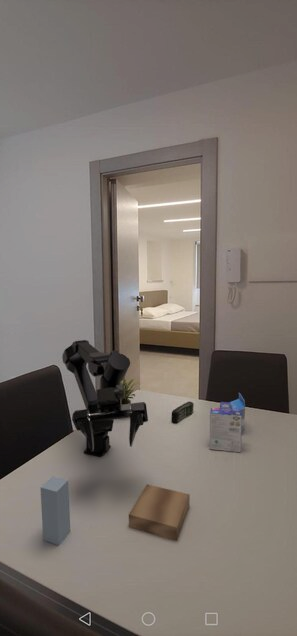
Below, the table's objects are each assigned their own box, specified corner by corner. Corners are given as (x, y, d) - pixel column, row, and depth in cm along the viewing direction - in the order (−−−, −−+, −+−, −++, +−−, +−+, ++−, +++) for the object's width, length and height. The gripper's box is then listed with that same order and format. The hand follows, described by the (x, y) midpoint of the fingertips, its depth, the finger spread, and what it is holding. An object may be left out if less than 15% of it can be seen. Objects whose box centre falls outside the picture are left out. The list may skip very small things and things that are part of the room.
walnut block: (128, 528, 71) (128, 514, 70) (146, 497, 81) (146, 484, 81) (176, 542, 67) (177, 527, 67) (189, 507, 77) (189, 494, 77)
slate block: (43, 540, 67) (40, 487, 66) (55, 526, 71) (52, 476, 70) (59, 545, 66) (56, 491, 65) (70, 531, 70) (68, 480, 68)
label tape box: (227, 423, 121) (228, 391, 119) (238, 423, 120) (239, 391, 119) (233, 434, 112) (233, 401, 110) (244, 434, 112) (245, 401, 110)
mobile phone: (176, 413, 119) (196, 399, 131) (169, 411, 121) (190, 398, 133) (176, 425, 120) (196, 411, 132) (170, 423, 122) (190, 409, 133)
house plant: (148, 411, 131) (148, 373, 129) (136, 426, 118) (135, 384, 116) (116, 407, 136) (116, 370, 134) (101, 421, 123) (100, 380, 121)
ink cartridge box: (240, 444, 106) (241, 401, 104) (241, 453, 100) (243, 408, 98) (209, 441, 107) (210, 399, 106) (209, 449, 102) (210, 406, 100)
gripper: (69, 379, 82) (63, 437, 70) (142, 370, 82) (148, 426, 71) (78, 403, 89) (75, 459, 78) (145, 394, 90) (151, 449, 78)
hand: (111, 448), depth 76 cm, fingers open, 9 cm apart
